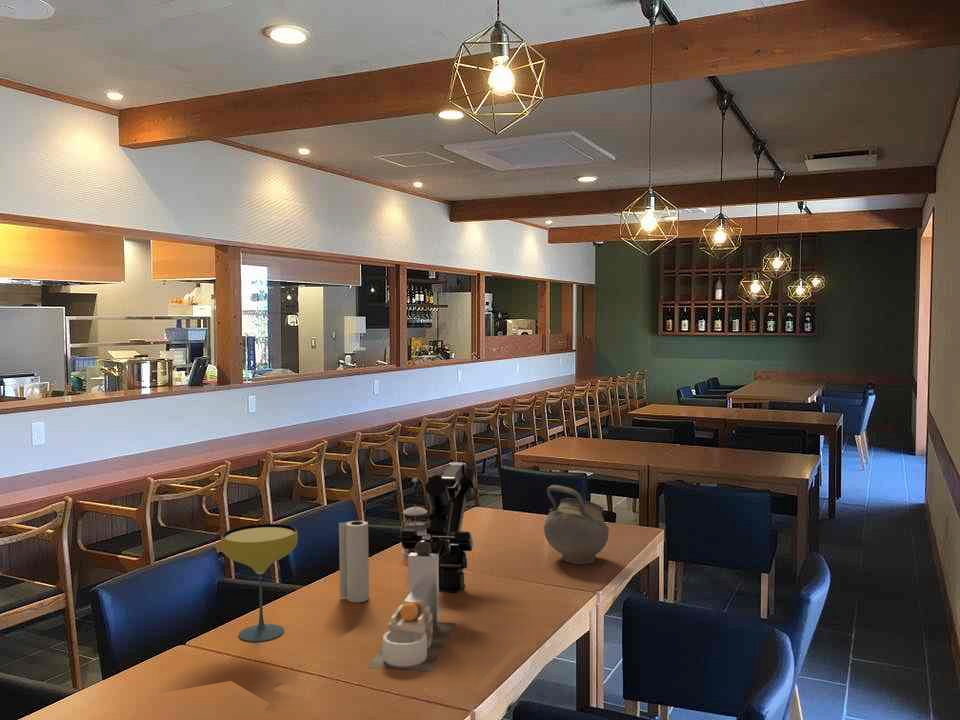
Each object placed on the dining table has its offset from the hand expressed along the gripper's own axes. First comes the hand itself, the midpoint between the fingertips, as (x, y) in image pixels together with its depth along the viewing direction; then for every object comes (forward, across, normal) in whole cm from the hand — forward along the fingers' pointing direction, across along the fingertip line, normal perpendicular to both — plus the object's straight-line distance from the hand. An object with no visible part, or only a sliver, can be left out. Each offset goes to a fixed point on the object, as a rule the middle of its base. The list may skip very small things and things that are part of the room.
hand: (431, 569), depth 201 cm
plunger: (+17, 0, +1) cm, 17 cm away
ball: (+18, 0, +14) cm, 23 cm away
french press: (-32, +19, -49) cm, 62 cm away
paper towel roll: (+1, +24, -18) cm, 30 cm away
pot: (-31, -34, -49) cm, 67 cm away
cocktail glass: (+20, +40, +1) cm, 44 cm away
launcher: (+22, 0, +4) cm, 23 cm away
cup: (+27, 0, +10) cm, 29 cm away
